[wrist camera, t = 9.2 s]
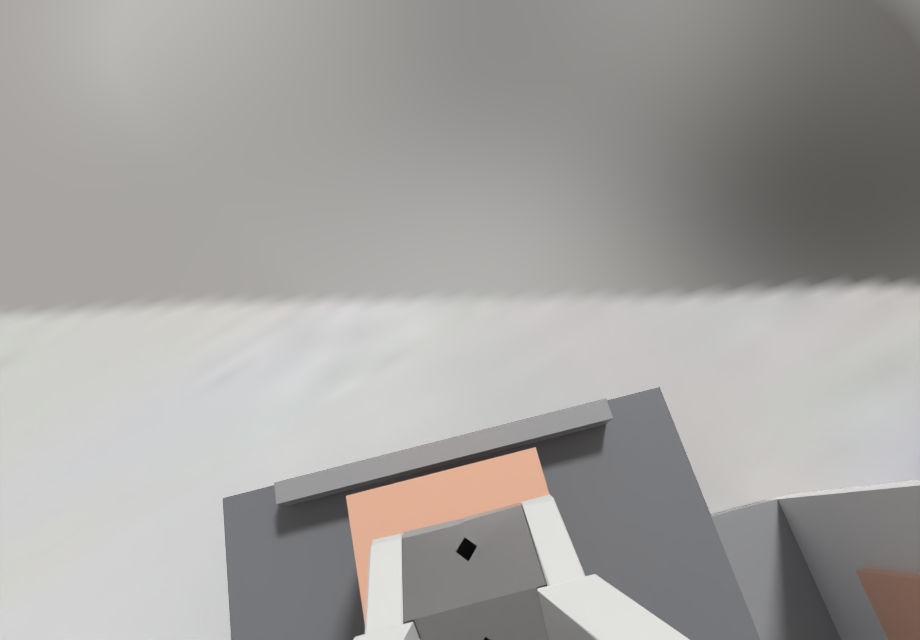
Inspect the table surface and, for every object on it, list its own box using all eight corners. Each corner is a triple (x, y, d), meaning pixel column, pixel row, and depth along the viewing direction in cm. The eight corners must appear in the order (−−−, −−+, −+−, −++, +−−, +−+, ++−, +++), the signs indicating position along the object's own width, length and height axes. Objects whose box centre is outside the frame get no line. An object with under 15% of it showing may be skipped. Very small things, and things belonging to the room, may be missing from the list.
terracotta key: (397, 669, 13) (375, 700, 10) (370, 500, 14) (345, 496, 12) (574, 621, 13) (592, 642, 10) (529, 460, 14) (535, 447, 12)
